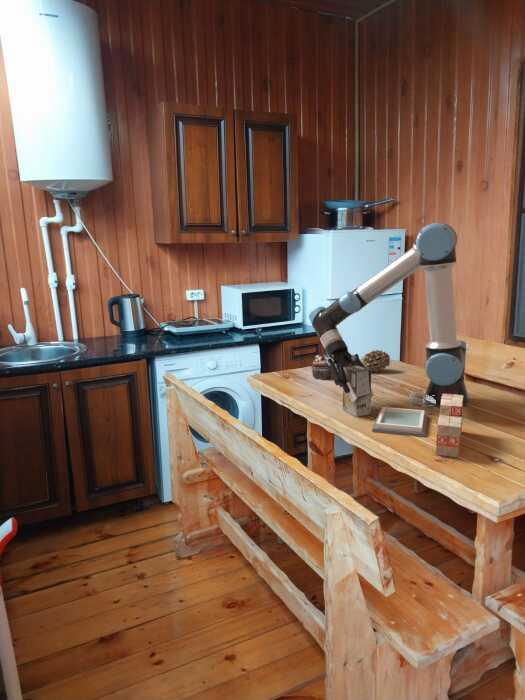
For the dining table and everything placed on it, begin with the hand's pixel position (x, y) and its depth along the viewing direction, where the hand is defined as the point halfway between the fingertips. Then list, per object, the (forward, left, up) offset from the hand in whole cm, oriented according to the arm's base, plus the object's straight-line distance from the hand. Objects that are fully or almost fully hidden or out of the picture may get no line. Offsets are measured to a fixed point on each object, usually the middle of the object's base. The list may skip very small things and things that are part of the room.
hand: (363, 398), depth 182 cm
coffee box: (+3, -2, -6) cm, 7 cm away
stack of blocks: (-28, +18, -6) cm, 34 cm away
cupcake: (+25, -44, -6) cm, 51 cm away
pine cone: (+7, -58, -6) cm, 59 cm away
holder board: (-13, +6, -6) cm, 16 cm away
